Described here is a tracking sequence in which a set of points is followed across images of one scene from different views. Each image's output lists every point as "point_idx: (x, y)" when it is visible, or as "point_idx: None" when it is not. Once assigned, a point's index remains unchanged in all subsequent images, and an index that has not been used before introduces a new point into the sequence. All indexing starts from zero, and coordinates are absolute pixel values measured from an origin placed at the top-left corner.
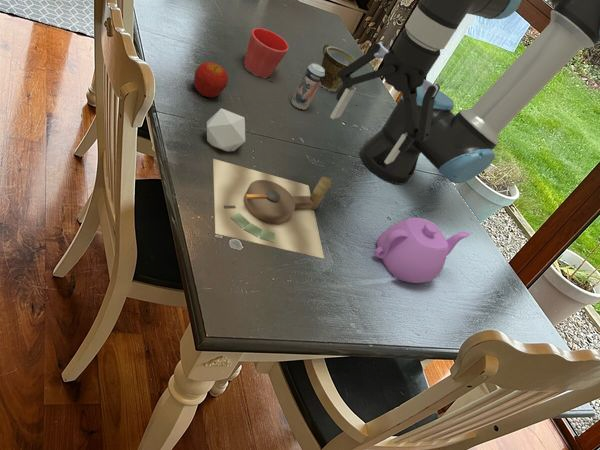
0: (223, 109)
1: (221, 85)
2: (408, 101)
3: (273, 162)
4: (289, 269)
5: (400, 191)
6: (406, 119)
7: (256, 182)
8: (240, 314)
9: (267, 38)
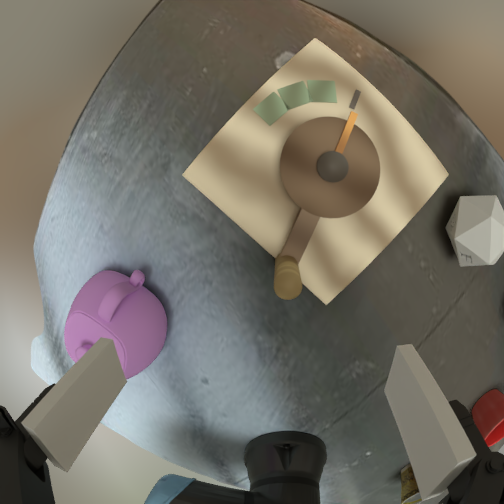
0: None
1: None
2: None
3: (398, 293)
4: (203, 106)
5: (238, 435)
6: (19, 492)
7: (376, 169)
8: (190, 3)
9: (500, 430)
